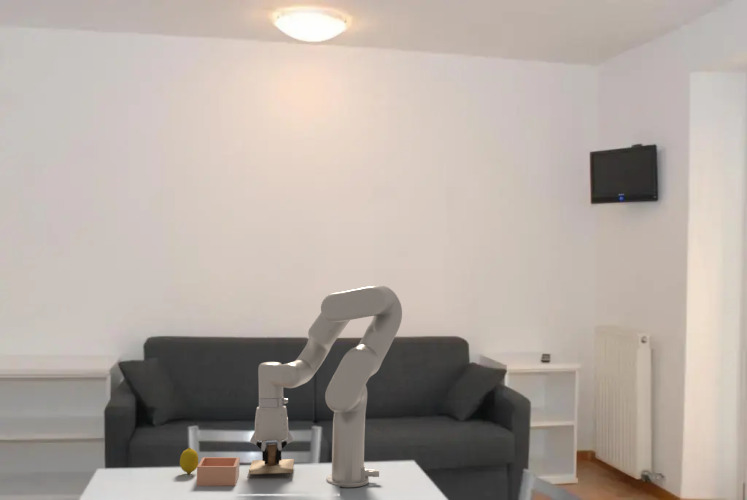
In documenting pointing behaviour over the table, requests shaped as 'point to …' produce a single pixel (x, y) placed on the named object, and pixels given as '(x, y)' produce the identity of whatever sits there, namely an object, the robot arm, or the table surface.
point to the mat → (268, 475)
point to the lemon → (189, 460)
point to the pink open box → (218, 471)
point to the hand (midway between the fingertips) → (272, 462)
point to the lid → (271, 463)
